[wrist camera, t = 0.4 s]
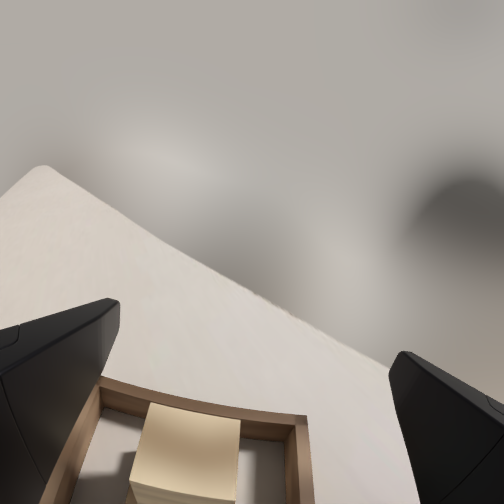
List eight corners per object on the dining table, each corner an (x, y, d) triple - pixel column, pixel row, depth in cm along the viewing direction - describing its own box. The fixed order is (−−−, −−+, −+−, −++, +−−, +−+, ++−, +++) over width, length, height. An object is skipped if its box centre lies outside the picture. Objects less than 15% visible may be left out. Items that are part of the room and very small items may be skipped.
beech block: (213, 529, 14) (235, 500, 10) (142, 515, 13) (129, 479, 10) (218, 473, 18) (240, 420, 14) (154, 460, 17) (150, 402, 14)
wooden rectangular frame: (301, 594, 10) (319, 594, 9) (42, 546, 9) (25, 539, 7) (294, 433, 23) (306, 415, 22) (97, 394, 22) (92, 372, 21)
